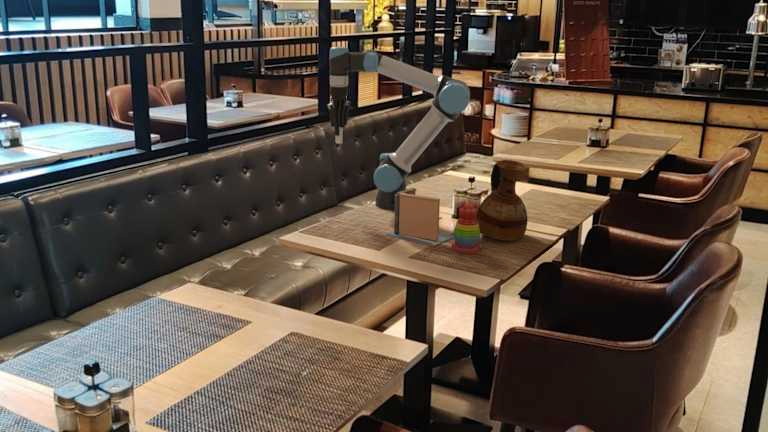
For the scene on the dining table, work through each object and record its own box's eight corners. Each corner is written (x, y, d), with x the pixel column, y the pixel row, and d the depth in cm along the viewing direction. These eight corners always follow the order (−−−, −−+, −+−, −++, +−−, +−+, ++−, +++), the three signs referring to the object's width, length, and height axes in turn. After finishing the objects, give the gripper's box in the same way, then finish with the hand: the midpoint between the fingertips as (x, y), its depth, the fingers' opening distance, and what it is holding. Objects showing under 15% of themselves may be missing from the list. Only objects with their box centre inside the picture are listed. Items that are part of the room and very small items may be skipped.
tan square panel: (398, 233, 285) (399, 194, 280) (401, 232, 286) (401, 192, 282) (436, 240, 277) (437, 200, 273) (438, 239, 279) (440, 199, 274)
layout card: (408, 225, 297) (408, 224, 297) (455, 237, 284) (455, 235, 284) (385, 234, 286) (385, 233, 286) (433, 246, 273) (433, 245, 273)
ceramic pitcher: (492, 247, 273) (497, 168, 265) (465, 231, 291) (468, 157, 282) (536, 241, 281) (542, 164, 273) (507, 226, 299) (512, 153, 290)
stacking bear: (480, 246, 275) (483, 199, 270) (481, 255, 265) (484, 207, 260) (451, 244, 276) (453, 198, 271) (451, 253, 266) (453, 206, 261)
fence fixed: (410, 226, 295) (411, 187, 290) (415, 227, 294) (416, 188, 289) (393, 233, 286) (394, 193, 281) (397, 234, 285) (398, 194, 280)
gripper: (342, 83, 308) (342, 139, 314) (321, 86, 298) (321, 144, 305) (356, 85, 303) (355, 141, 310) (335, 88, 293) (335, 146, 300)
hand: (339, 142), depth 307 cm, fingers closed
